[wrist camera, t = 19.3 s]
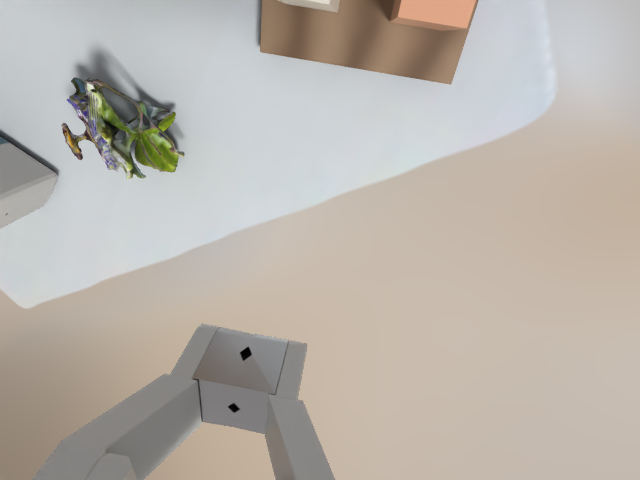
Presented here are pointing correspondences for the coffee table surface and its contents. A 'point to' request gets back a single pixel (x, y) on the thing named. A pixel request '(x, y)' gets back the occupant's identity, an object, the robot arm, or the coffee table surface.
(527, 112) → the coffee table surface
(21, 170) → the stereo radio cassette player
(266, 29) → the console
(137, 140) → the passion flower
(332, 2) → the ivory key
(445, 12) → the terracotta key
